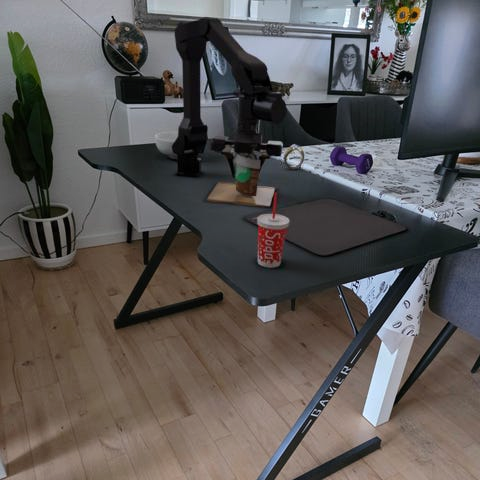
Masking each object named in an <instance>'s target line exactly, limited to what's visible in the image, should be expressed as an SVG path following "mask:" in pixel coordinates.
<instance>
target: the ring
mask: <svg viewBox="0 0 480 480" xmlns="http://www.w3.org/2000/svg"><path fill="white" fill-rule="evenodd" d="M294 151H298V152H299V154H300V156H301V157H300V161H299V163H298V164H297V165H289V164H288V161H287V160H288V156H289V155H290V154H291V153H293V152H294ZM304 161H305V152H304V149H303V148H301V147H300V145H298V144H296V143H294V144H292V145H289V147H288V148H287V149H286V150H285V153H284V155H283V162H284V165H285V166H286V167H287V168H288V169H291V170H296V169H298V168H300V167H301V166H302V165H303V163H304Z"/></svg>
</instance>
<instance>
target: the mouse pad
mask: <svg viewBox="0 0 480 480" xmlns="http://www.w3.org/2000/svg"><path fill="white" fill-rule="evenodd" d="M263 214H273V209H271V210H266V211H263V212H258V213H253V214H249V215H246V216H245V217H244V219H245V220H246V221H247V222H249V223H251V224H253V225H255V226H256V227H257V226H258V223H257V221H258V220H257V218H258V216H260V215H263ZM275 214H277V215H282V216H285V217H287V218H288V219H289V220H290V221H289V226H288V227H287V231H286V236H285V241H288V242H290V243H292V244H295V245H296V246H298V247H300V248H302V249H305V250H306V251H308V252H310V253H312V254H315V255H317V256H321V257H327V256H331V255H334V254H337V253H340V252H343V251H346V250H350V249H353V248H355V247H358V246H361V245H362V246H363V245H365V244H368V243H372V242H374V241H377V240H380V239H383V238H386V237H388V236H393V235H395V234H398V233H401V232H405V231H406V230H407V227H406V226H404V225H402V224H400V223H397V222H394V221H391V220H390V219H386V218H384V217H381V216H378V215H375V214H373V213H370V212H368V211H365V210H362V209H359V208H357V207H355V206H351V205H349V204H346V203H343V202H341V201H338V200H336V199H332V198H321V199H316V200H312V201H307V202H303V203H298V204H293V205H289V206H285V207H279V208H276V211H275Z"/></svg>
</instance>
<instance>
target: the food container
mask: <svg viewBox="0 0 480 480" xmlns="http://www.w3.org/2000/svg"><path fill="white" fill-rule="evenodd" d="M254 151H255V150H253V153H252V154H247V153H236V152H235V156H234V162H235V184H236V191H237V192H239V193H241V194H244V195H248V196H256V193H257V186H259V185H258V183H259V175H260V173H259V169H260V160H258V159H259V158H258V156H257V155H256V154H255V152H254Z"/></svg>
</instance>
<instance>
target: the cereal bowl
mask: <svg viewBox="0 0 480 480" xmlns="http://www.w3.org/2000/svg"><path fill="white" fill-rule="evenodd" d="M177 137H178V130H174V131H163V132H158V133H156V134H155V136H154V140H155V145H156V148H157V150H158V151H159V152H160V153H162V154H163V155H165V156H167V157H168V158H170V159H173V160H177V154H174V153H173V151H172V145H173V143H174V142H175V140H176V139H177Z"/></svg>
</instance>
